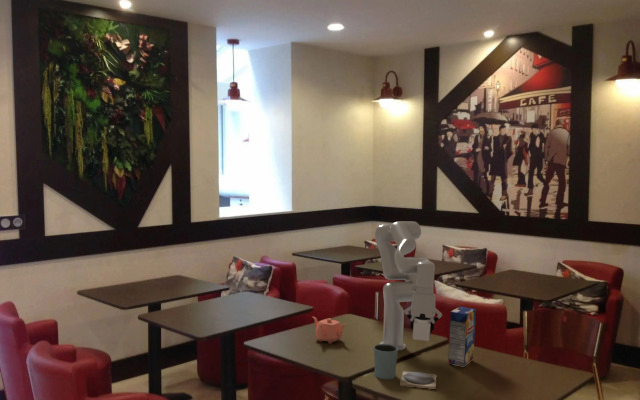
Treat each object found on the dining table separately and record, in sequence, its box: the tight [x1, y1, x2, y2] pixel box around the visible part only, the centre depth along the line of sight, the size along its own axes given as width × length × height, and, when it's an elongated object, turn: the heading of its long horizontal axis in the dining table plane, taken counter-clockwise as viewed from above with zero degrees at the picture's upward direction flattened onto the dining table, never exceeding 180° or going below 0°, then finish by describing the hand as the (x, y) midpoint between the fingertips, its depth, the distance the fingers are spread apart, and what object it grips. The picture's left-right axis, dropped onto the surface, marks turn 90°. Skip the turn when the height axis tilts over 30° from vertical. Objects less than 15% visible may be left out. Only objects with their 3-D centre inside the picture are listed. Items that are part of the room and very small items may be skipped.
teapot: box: [312, 316, 347, 344], centre depth 290 cm, size 14×14×11 cm
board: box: [399, 370, 438, 390], centre depth 241 cm, size 14×14×2 cm
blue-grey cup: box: [373, 343, 399, 381], centre depth 246 cm, size 10×10×12 cm
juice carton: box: [447, 306, 477, 366], centre depth 264 cm, size 12×8×24 cm, turn 147°
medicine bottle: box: [412, 314, 431, 342], centre depth 252 cm, size 7×7×12 cm
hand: (421, 330), depth 252 cm, fingers closed on medicine bottle, 7 cm apart
